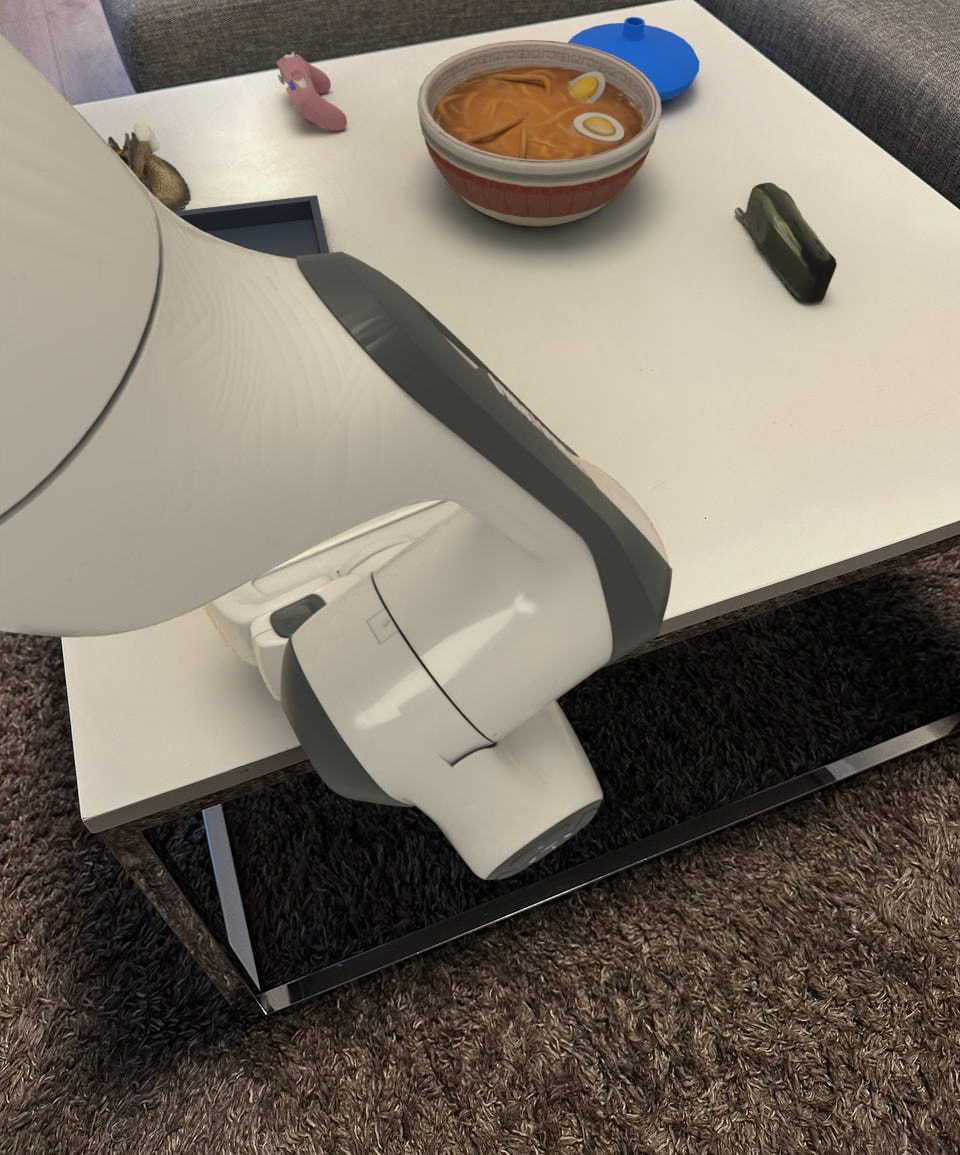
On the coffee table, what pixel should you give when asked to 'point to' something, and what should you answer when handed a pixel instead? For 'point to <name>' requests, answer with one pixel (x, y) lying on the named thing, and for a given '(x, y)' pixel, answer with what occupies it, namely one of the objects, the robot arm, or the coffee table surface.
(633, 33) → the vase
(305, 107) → the video game controller
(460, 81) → the bowl
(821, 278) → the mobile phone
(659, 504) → the coffee table surface
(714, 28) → the coffee table surface
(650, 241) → the coffee table surface
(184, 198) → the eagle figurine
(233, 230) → the tray
